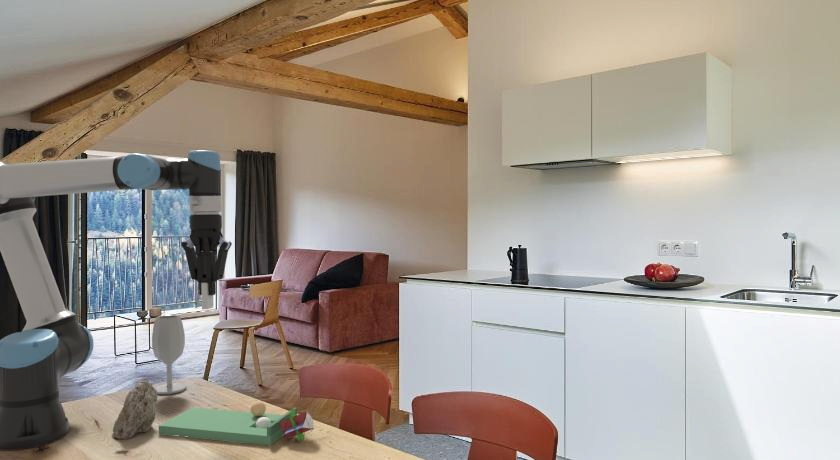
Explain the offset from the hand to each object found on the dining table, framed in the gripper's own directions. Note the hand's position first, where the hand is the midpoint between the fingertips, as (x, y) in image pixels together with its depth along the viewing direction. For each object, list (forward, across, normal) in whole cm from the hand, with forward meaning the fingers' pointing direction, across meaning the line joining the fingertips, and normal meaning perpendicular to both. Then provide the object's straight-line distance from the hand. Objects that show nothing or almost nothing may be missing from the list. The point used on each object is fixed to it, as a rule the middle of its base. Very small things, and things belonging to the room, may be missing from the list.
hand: (207, 308), depth 154 cm
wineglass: (+27, -22, +14) cm, 37 cm away
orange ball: (+23, +16, -4) cm, 28 cm away
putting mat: (+26, +11, -9) cm, 30 cm away
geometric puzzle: (+27, +29, -11) cm, 41 cm away
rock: (+27, -10, -14) cm, 32 cm away
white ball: (+25, +20, -9) cm, 33 cm away
